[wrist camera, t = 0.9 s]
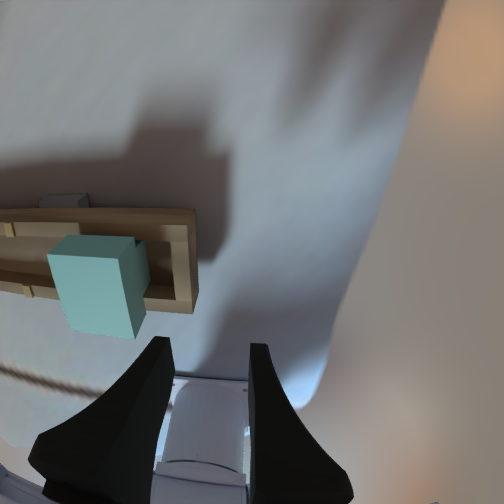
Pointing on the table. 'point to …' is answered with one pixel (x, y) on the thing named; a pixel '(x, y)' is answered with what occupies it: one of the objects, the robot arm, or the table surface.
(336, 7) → the table surface
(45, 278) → the wooden tray
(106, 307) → the block
